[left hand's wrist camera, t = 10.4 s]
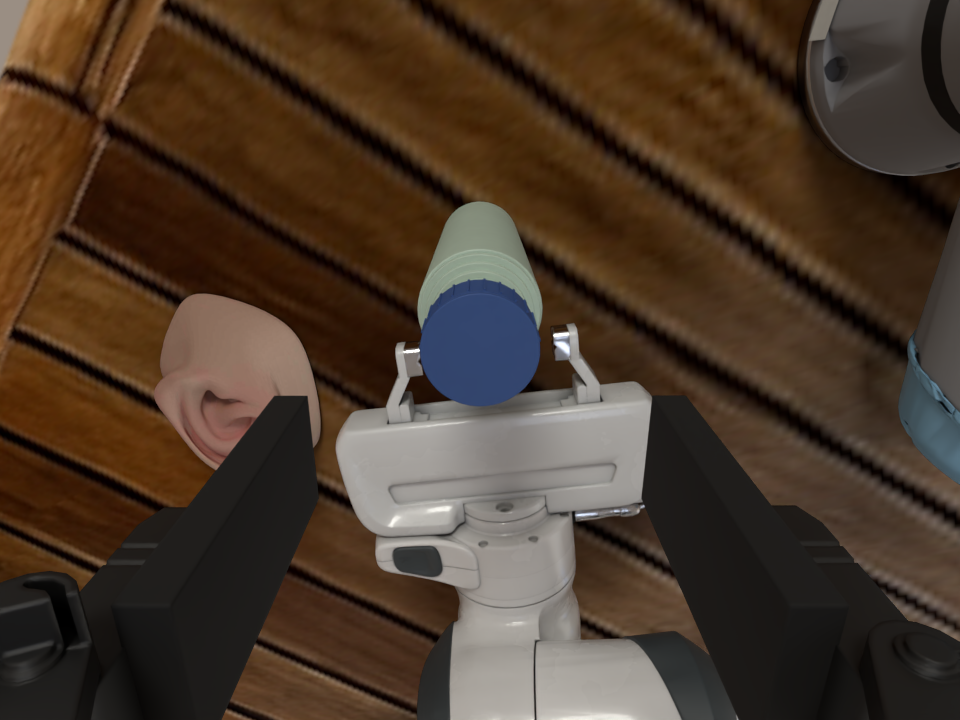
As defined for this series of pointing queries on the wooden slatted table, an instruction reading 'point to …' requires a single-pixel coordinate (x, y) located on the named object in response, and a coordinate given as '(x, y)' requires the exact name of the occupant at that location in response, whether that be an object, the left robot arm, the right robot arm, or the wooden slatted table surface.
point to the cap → (480, 343)
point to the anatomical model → (228, 372)
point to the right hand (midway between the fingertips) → (485, 335)
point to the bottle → (480, 257)
